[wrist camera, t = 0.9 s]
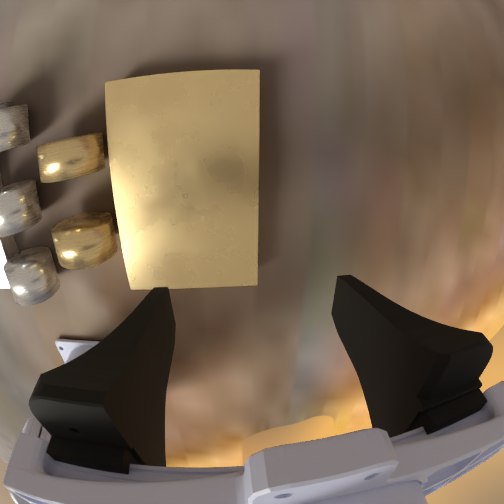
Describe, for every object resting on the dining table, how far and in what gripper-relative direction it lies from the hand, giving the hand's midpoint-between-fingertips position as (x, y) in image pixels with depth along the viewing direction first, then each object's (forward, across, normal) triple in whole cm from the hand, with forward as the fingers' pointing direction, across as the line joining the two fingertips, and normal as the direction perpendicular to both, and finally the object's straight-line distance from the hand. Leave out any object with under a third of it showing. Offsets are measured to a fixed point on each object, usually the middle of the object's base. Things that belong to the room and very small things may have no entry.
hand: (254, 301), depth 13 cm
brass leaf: (+9, +6, -3) cm, 11 cm away
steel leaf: (+10, +21, -3) cm, 24 cm away
